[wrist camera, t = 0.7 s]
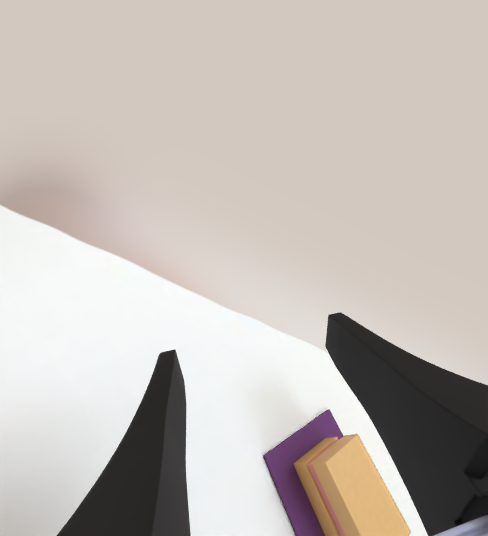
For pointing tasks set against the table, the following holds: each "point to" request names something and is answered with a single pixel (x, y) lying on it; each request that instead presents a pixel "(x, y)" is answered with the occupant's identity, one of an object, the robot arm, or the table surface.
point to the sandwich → (348, 490)
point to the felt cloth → (287, 476)
